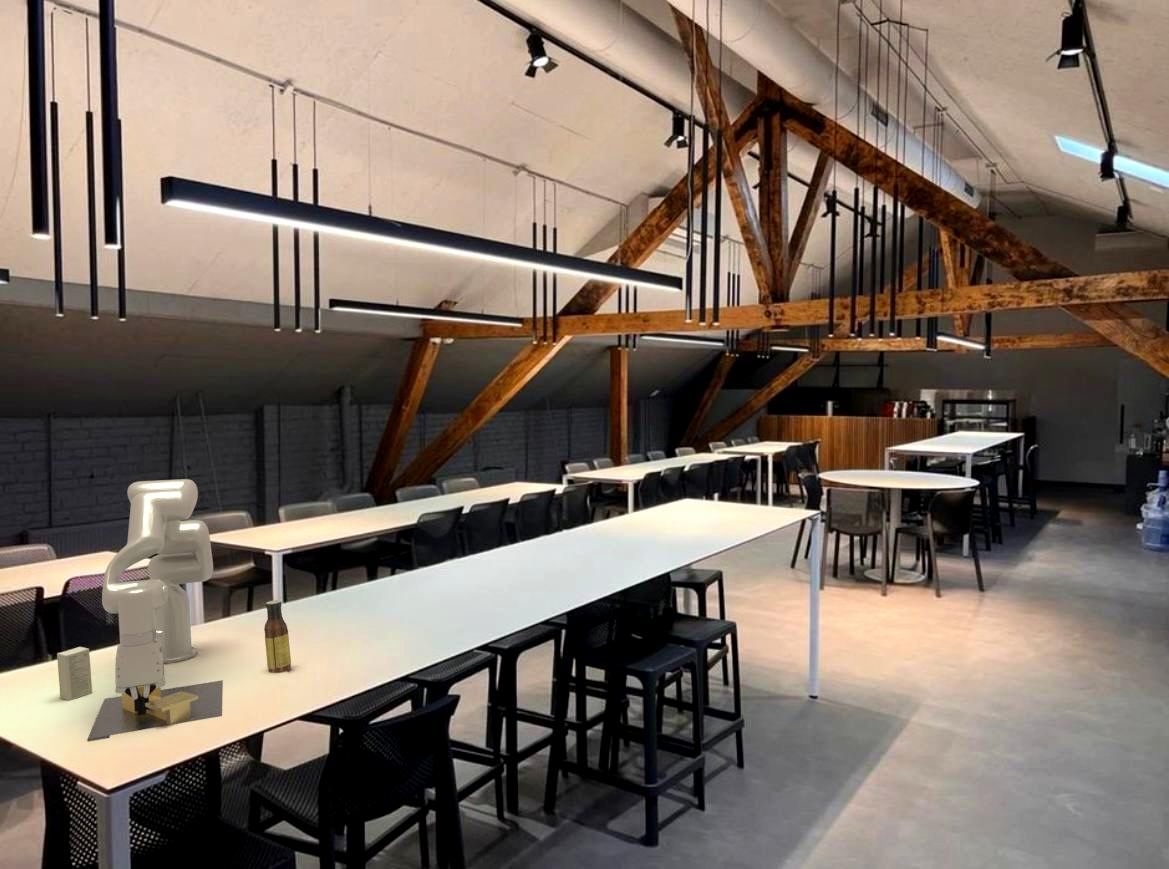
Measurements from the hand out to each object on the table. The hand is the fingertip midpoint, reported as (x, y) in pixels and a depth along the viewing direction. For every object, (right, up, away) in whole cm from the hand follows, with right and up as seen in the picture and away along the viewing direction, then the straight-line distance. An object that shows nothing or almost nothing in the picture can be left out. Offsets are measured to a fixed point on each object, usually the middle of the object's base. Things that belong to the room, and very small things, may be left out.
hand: (142, 713), depth 196 cm
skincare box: (-27, -2, +18) cm, 33 cm away
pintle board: (+1, -1, +6) cm, 6 cm away
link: (+1, -1, +4) cm, 4 cm away
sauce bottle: (+21, 0, +33) cm, 39 cm away
